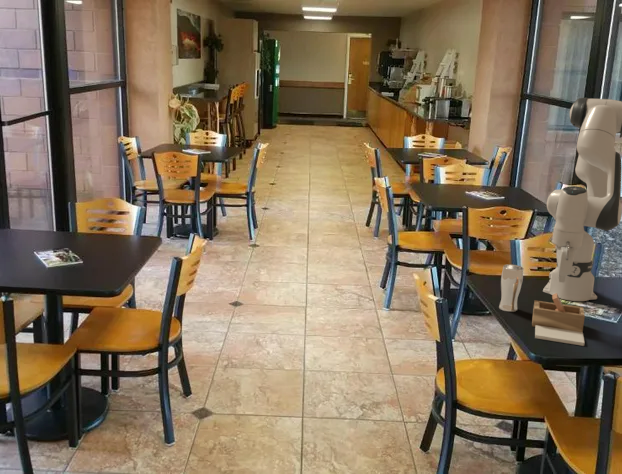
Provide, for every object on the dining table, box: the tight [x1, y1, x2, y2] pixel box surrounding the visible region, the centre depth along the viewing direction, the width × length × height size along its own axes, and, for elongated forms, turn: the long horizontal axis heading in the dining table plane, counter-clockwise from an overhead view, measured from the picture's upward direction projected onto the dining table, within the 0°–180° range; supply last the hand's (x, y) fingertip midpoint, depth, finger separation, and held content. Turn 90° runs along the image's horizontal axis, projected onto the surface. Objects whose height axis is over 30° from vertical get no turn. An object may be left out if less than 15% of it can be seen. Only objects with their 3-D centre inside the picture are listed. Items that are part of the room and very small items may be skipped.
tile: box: [551, 293, 566, 312], centre depth 210 cm, size 5×11×3 cm
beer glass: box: [498, 264, 524, 313], centre depth 223 cm, size 7×7×15 cm
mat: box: [534, 325, 585, 347], centre depth 202 cm, size 9×14×1 cm, turn 71°
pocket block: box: [531, 299, 586, 332], centre depth 211 cm, size 9×15×6 cm, turn 71°
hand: (561, 280), depth 208 cm, fingers closed
